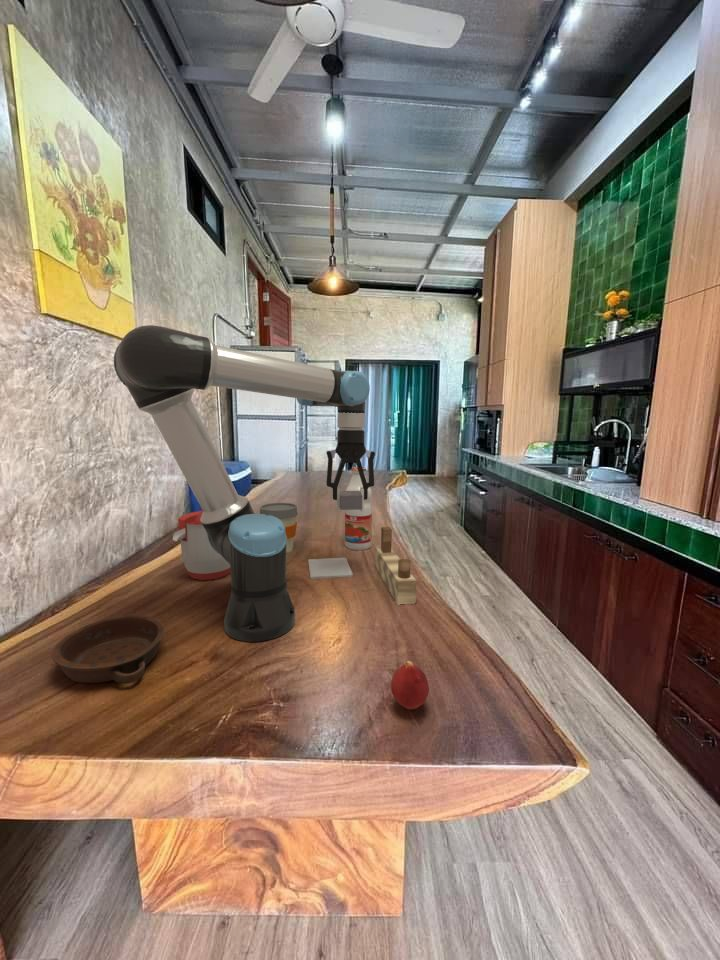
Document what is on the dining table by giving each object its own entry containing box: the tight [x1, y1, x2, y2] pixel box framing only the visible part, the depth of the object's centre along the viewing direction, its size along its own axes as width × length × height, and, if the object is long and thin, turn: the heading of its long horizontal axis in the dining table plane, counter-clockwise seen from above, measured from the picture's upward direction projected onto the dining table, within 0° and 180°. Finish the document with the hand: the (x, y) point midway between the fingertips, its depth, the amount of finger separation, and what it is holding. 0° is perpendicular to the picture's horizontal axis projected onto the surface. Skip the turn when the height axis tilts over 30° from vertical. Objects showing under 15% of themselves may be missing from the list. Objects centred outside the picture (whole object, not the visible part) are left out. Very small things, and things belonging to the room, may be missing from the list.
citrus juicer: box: [172, 509, 231, 581], centre depth 114 cm, size 16×17×20 cm
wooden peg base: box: [374, 526, 418, 606], centre depth 110 cm, size 26×5×13 cm, turn 10°
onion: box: [390, 660, 430, 711], centre depth 63 cm, size 6×6×8 cm
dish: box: [51, 614, 166, 685], centre depth 74 cm, size 18×22×5 cm
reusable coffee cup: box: [259, 502, 298, 554], centre depth 136 cm, size 13×13×15 cm
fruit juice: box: [344, 466, 373, 551], centre depth 139 cm, size 9×9×28 cm
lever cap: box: [340, 490, 362, 511], centre depth 114 cm, size 7×6×4 cm
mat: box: [307, 557, 354, 580], centre depth 121 cm, size 14×12×1 cm
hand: (349, 510), depth 114 cm, fingers closed on lever cap, 6 cm apart
